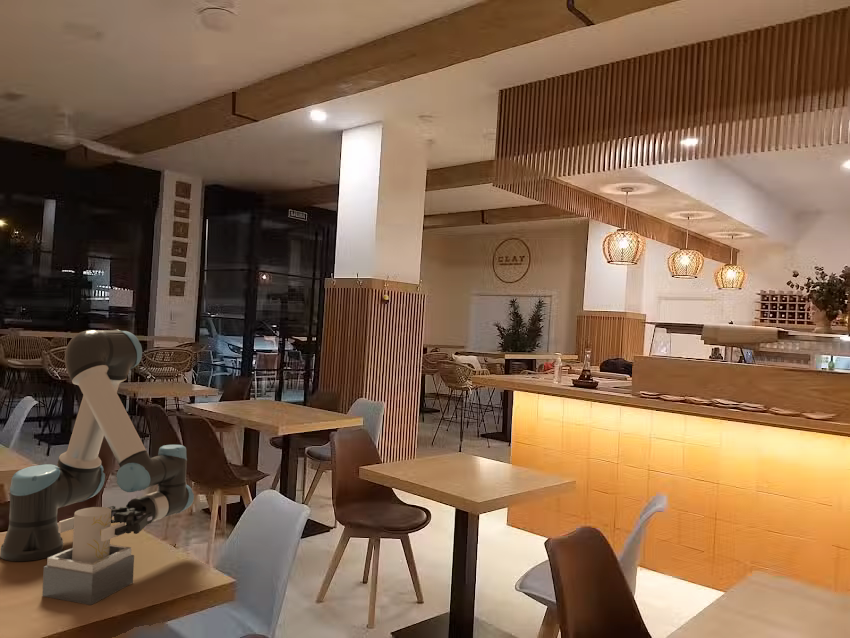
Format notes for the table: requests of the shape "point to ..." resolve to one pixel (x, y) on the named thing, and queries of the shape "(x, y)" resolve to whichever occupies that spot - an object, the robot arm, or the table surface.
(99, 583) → the box
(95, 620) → the table surface
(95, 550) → the cup
